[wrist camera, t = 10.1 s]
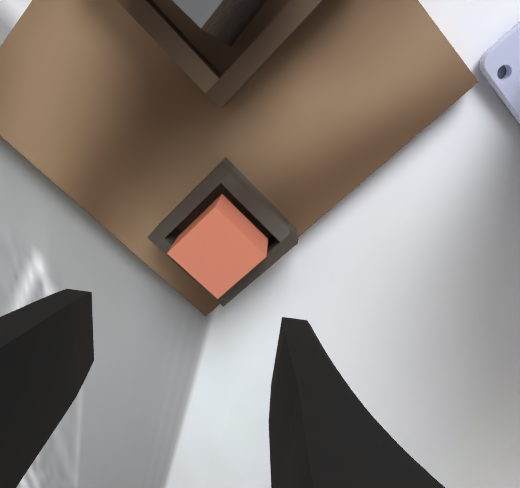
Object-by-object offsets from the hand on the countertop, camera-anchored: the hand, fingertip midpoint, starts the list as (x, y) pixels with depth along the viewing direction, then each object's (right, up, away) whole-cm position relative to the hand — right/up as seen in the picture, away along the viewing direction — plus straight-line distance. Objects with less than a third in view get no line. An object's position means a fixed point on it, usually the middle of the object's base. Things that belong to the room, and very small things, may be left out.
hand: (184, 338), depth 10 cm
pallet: (0, +9, +7) cm, 11 cm away
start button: (0, +3, +7) cm, 7 cm away
